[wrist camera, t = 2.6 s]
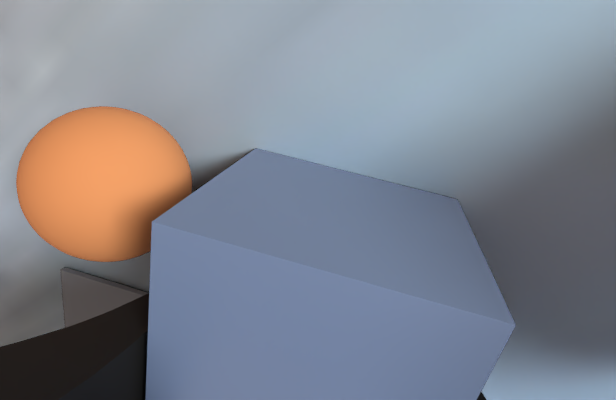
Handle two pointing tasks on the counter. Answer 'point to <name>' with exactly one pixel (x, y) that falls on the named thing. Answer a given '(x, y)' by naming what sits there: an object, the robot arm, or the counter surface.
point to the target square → (92, 296)
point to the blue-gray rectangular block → (318, 290)
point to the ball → (101, 182)
